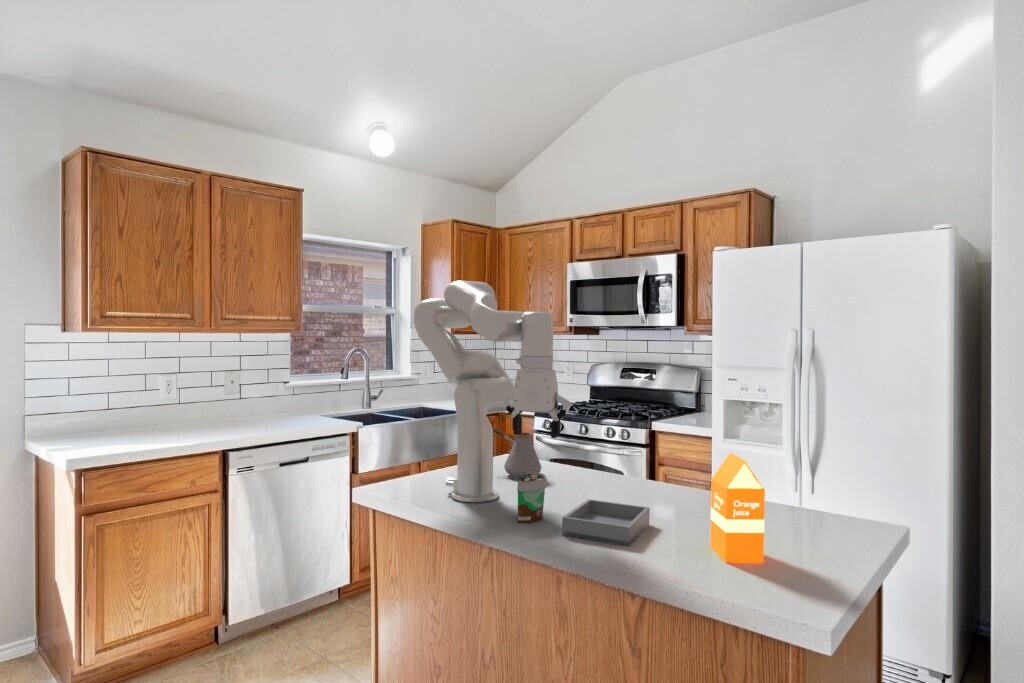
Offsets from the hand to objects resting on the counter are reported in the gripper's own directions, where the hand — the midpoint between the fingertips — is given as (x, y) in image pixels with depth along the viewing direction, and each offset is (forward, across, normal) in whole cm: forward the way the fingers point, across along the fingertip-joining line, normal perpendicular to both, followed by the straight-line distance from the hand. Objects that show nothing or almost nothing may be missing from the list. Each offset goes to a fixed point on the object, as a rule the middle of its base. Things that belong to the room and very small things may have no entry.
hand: (536, 435), depth 151 cm
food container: (+20, 0, 0) cm, 20 cm away
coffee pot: (+20, -26, +39) cm, 51 cm away
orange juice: (+20, +46, -3) cm, 50 cm away
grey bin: (+20, +18, 0) cm, 27 cm away
